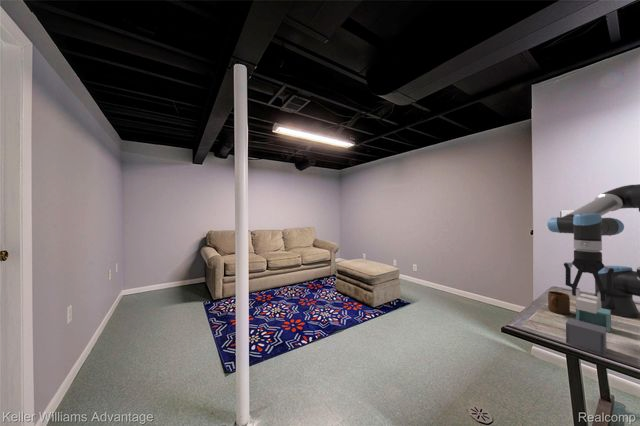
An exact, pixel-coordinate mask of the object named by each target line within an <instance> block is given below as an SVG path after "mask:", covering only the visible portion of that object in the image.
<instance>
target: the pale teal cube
mask: <svg viewBox="0 0 640 426" xmlns="http://www.w3.org/2000/svg"><path fill="white" fill-rule="evenodd" d="M575 320H579V321H583V322H587V323H591V324H595V325H599V326H602V327H606V333H607V332H608V333H611V329H612V314H611V310H607V309H603V308H601V310H600V309H598V311H597V313H596V314H595V313H591V312H587V311H582V310H578V309H577V305H576V306H575Z"/></svg>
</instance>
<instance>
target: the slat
mask: <svg viewBox="0 0 640 426" xmlns="http://www.w3.org/2000/svg"><path fill="white" fill-rule="evenodd" d="M576 306H577V309H578V310H582V311H587V312H591V313H595V314H596V313H597V311H598V301H597V297H596V296H594V295H591V294H585V293H581V294H580V296H579V297H578V298H577V304H576Z"/></svg>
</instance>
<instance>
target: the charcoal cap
mask: <svg viewBox="0 0 640 426" xmlns="http://www.w3.org/2000/svg"><path fill="white" fill-rule="evenodd" d="M565 342H566V343H567V344H569V345H572V346H575V347H578V348H582V349H585V350H588V351H591V352H594V353H597V354H601V355H604V356H606V352H607V348H608V347H607V346H608V345H607V331H606V327H605V326H601V325H597V324H593V323H589V322H585V321H579V320H576V318H575V319H574V318H570V317H569V318H567V320H566V322H565Z"/></svg>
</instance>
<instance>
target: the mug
mask: <svg viewBox="0 0 640 426" xmlns="http://www.w3.org/2000/svg"><path fill="white" fill-rule="evenodd" d="M547 303H548V304H547V305H548V310H549V311H550V312H552V313H554V314H558V315H565V316H567V315H568V316H569V315H570V313H571V311H570V310H571V309H570V308H571V299H570V295H569V294H568V293H565V292H561V291H552V290H550V291H548V293H547Z"/></svg>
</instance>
